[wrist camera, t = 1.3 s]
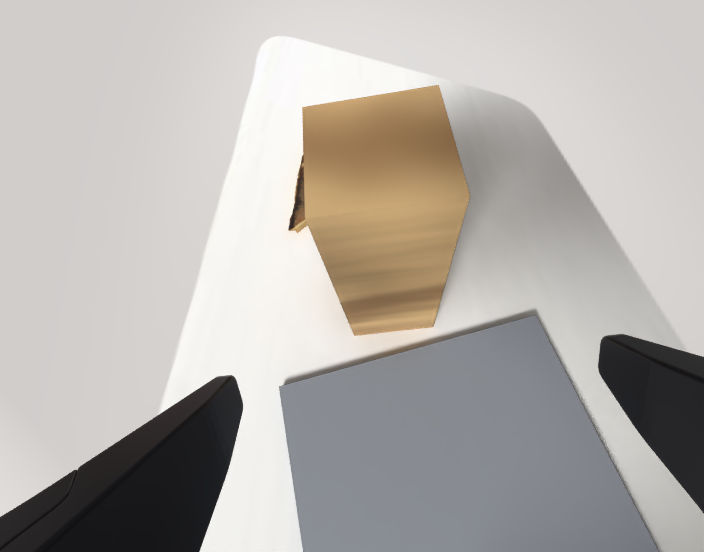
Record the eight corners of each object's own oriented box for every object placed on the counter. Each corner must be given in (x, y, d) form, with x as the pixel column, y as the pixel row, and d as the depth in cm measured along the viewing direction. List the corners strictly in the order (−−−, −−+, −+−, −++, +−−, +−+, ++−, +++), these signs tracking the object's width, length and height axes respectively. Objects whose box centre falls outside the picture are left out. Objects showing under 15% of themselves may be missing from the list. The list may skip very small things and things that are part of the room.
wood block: (433, 326, 22) (469, 195, 10) (354, 335, 22) (305, 218, 11) (420, 257, 24) (438, 85, 13) (348, 266, 25) (302, 107, 13)
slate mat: (716, 675, 14) (726, 682, 14) (340, 779, 14) (338, 790, 14) (533, 317, 21) (535, 315, 21) (281, 387, 22) (279, 386, 21)
